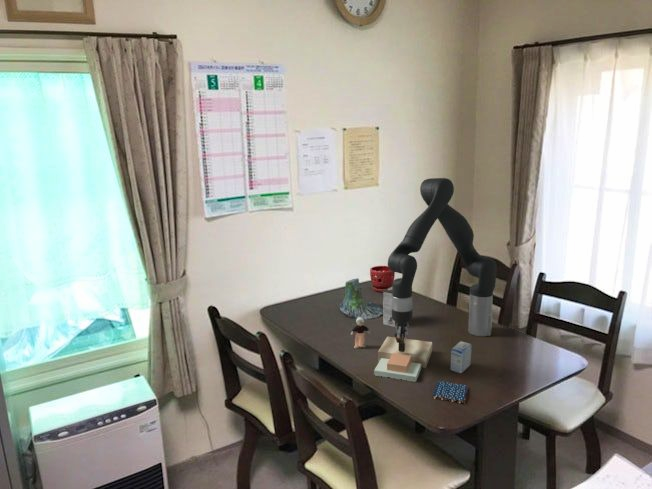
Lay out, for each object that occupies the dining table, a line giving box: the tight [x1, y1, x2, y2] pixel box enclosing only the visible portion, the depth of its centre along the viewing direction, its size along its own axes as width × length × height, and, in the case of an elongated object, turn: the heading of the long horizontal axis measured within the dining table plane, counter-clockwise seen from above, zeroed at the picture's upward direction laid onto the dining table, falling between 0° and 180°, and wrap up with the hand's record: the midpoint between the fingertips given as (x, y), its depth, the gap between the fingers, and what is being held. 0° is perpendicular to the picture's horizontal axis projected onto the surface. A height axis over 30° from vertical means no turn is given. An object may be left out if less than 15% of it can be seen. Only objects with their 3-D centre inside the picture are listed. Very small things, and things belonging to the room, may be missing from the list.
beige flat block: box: [377, 336, 433, 369], centre depth 190 cm, size 18×14×4 cm
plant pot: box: [369, 265, 396, 293], centre depth 266 cm, size 13×13×12 cm
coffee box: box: [382, 286, 397, 328], centre depth 221 cm, size 9×6×16 cm
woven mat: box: [432, 380, 469, 404], centre depth 164 cm, size 10×11×2 cm
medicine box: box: [450, 341, 472, 374], centre depth 180 cm, size 8×4×9 cm, turn 141°
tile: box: [387, 353, 412, 373], centre depth 179 cm, size 7×9×2 cm
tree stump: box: [339, 277, 383, 321], centre depth 235 cm, size 19×21×19 cm
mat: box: [373, 358, 422, 383], centre depth 179 cm, size 15×10×2 cm, turn 69°
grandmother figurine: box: [350, 317, 371, 349], centre depth 199 cm, size 8×4×13 cm, turn 105°
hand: (401, 350), depth 184 cm, fingers closed
